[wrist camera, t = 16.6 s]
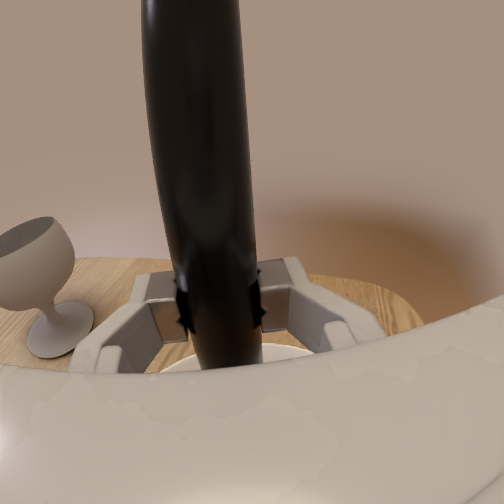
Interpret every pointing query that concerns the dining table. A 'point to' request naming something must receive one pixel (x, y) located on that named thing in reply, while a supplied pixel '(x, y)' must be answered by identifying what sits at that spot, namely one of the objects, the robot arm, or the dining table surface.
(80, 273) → the dining table surface
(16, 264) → the chalice
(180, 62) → the rod on round base
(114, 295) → the dining table surface
